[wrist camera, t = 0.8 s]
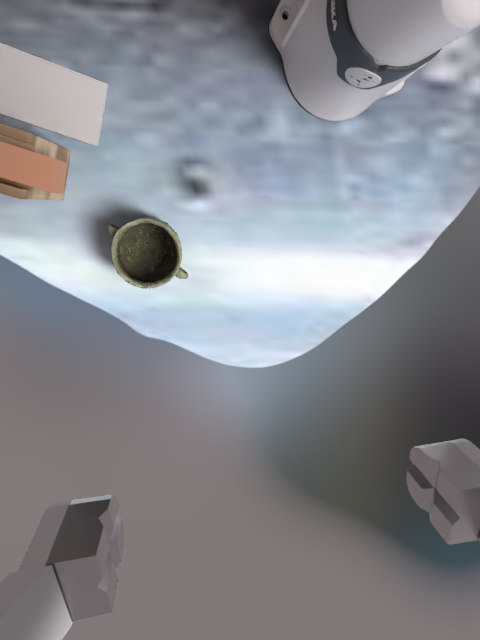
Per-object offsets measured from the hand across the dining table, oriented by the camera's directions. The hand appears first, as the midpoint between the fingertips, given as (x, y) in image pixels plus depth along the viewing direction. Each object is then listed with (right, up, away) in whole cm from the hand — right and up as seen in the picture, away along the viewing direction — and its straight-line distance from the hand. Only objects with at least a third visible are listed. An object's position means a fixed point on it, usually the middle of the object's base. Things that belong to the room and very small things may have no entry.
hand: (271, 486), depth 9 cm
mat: (-29, +32, +29) cm, 52 cm away
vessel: (-13, +15, +38) cm, 43 cm away
